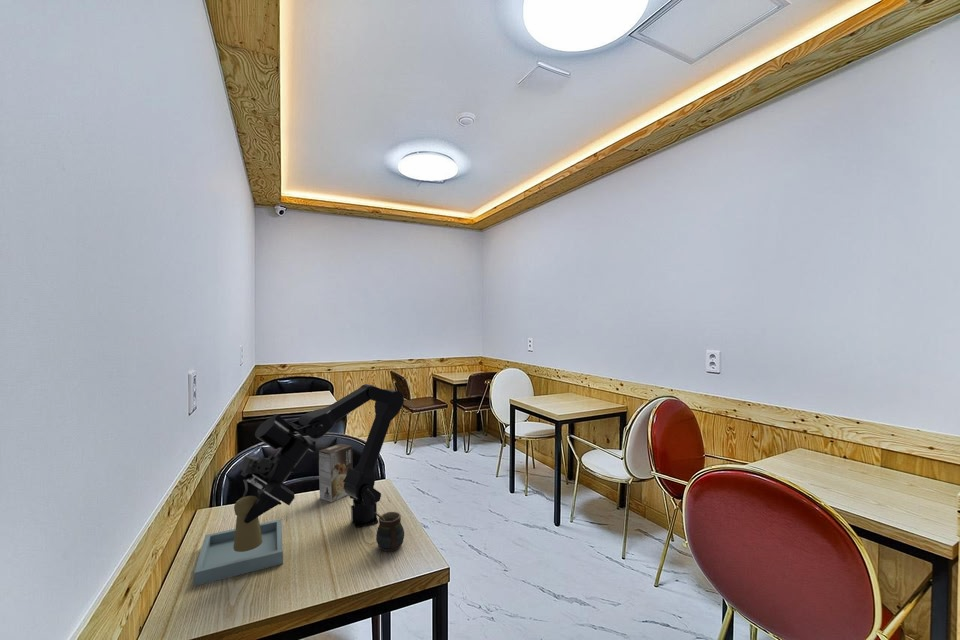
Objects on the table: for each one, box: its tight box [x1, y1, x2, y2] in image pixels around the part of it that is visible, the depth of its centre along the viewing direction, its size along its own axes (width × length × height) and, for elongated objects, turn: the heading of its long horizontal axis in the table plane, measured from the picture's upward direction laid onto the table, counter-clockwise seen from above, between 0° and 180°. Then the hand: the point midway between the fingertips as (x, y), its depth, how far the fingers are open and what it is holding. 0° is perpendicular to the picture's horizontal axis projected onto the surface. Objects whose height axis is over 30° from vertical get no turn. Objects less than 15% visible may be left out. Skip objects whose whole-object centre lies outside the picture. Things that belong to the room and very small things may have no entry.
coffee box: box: [318, 443, 354, 503], centre depth 139 cm, size 9×6×16 cm
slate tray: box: [193, 518, 284, 587], centre depth 105 cm, size 18×18×3 cm
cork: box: [233, 496, 263, 552], centre depth 98 cm, size 6×6×11 cm
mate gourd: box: [374, 511, 405, 552], centre depth 108 cm, size 7×8×10 cm
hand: (240, 518), depth 97 cm, fingers closed on cork, 5 cm apart
